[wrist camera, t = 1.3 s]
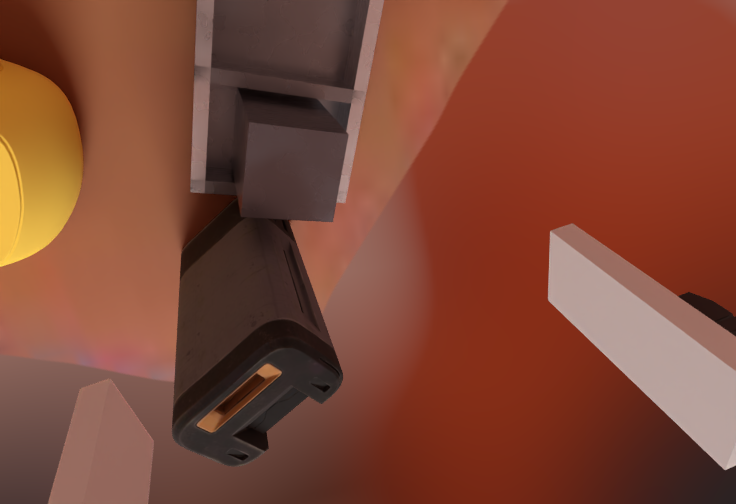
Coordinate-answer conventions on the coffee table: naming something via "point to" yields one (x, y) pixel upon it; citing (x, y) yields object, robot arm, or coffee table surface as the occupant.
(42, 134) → the teapot
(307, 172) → the rack
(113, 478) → the robot arm
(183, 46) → the coffee table surface
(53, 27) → the coffee table surface
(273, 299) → the electronic device
